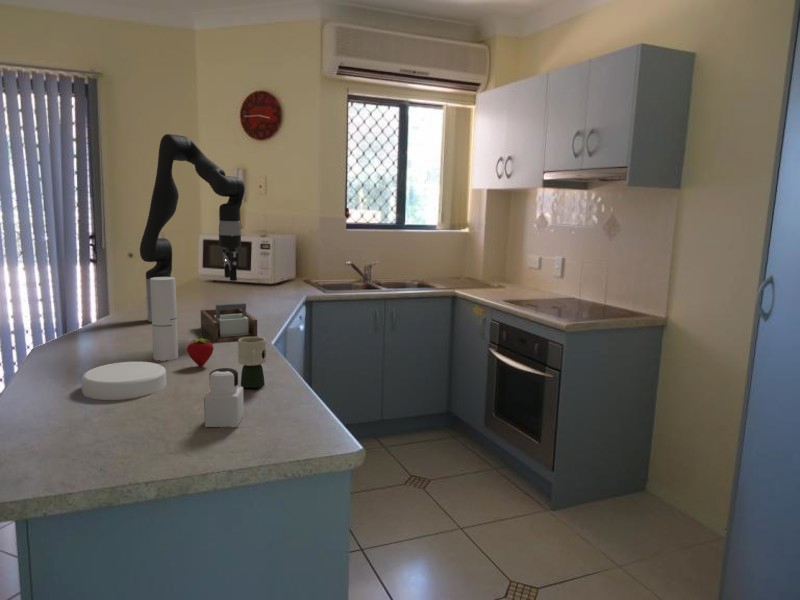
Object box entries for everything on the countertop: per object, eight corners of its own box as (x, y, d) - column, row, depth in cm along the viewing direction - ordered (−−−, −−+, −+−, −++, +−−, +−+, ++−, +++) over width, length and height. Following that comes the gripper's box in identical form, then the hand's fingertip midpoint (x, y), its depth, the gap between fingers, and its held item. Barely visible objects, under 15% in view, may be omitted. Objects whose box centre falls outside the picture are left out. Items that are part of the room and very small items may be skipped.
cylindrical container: (183, 356, 180) (180, 278, 176) (165, 361, 173) (162, 280, 169) (166, 353, 183) (163, 276, 179) (148, 358, 176) (144, 278, 172)
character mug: (268, 392, 149) (267, 343, 147) (239, 394, 146) (239, 345, 144) (264, 379, 159) (264, 334, 157) (238, 381, 157) (237, 335, 155)
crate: (219, 337, 202) (219, 307, 200) (214, 331, 210) (213, 302, 209) (249, 334, 207) (248, 305, 205) (242, 329, 215) (241, 301, 214)
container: (108, 375, 160) (107, 359, 159) (179, 378, 159) (178, 362, 158) (64, 399, 140) (63, 381, 139) (145, 402, 139) (144, 384, 139)
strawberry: (187, 364, 171) (186, 332, 170) (213, 362, 174) (212, 330, 172) (187, 370, 166) (186, 336, 164) (214, 368, 168) (213, 335, 167)
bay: (214, 342, 199) (214, 323, 197) (201, 327, 221) (200, 310, 220) (257, 338, 206) (257, 319, 205) (240, 324, 228) (239, 307, 227)
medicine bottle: (212, 416, 131) (211, 365, 129) (244, 416, 132) (243, 365, 130) (204, 428, 124) (203, 374, 122) (237, 427, 125) (237, 375, 123)
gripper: (214, 232, 207) (215, 276, 209) (223, 235, 194) (224, 282, 197) (235, 232, 210) (236, 276, 213) (245, 235, 198) (245, 281, 201)
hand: (230, 278), depth 205 cm, fingers open, 8 cm apart
